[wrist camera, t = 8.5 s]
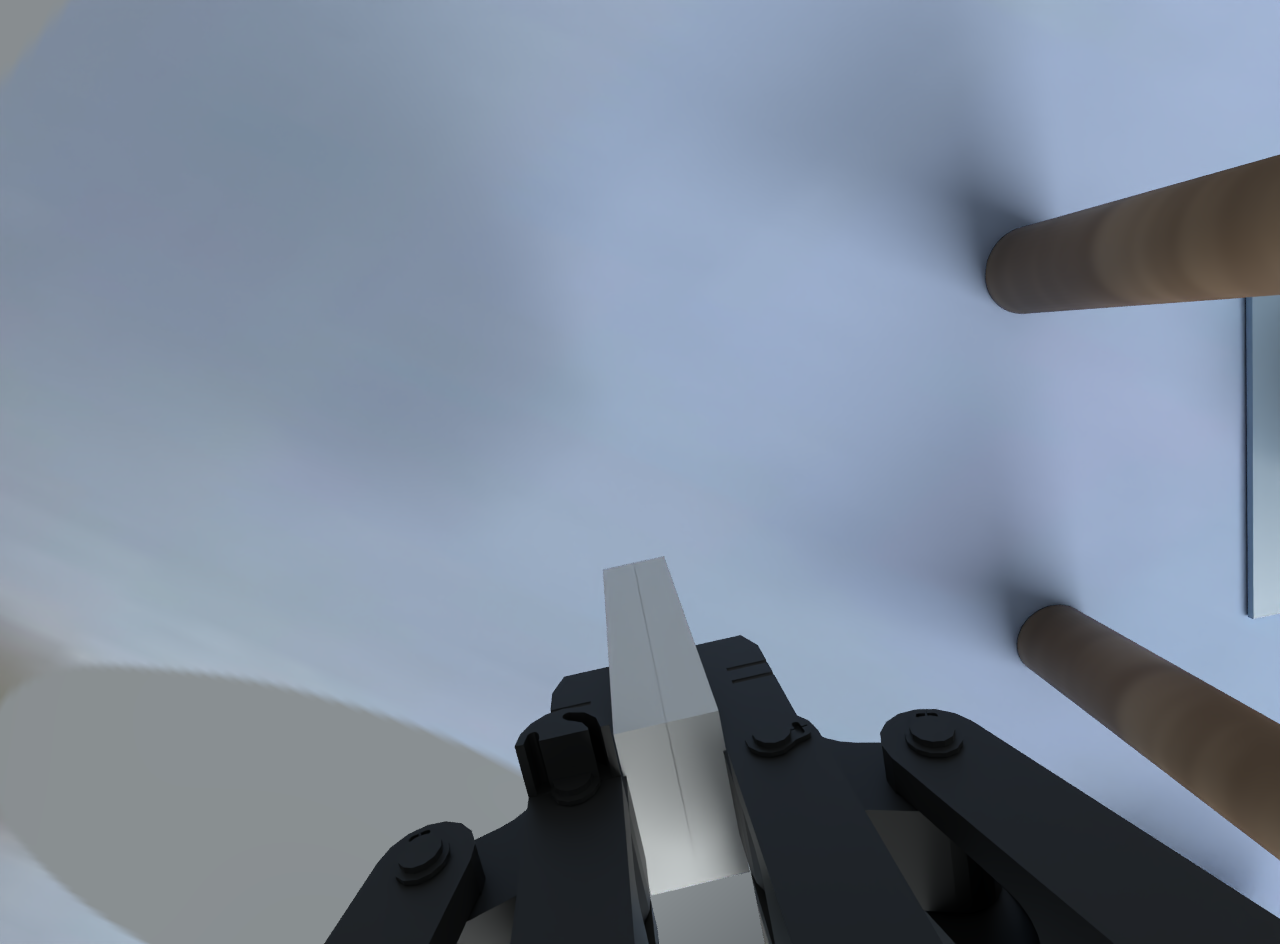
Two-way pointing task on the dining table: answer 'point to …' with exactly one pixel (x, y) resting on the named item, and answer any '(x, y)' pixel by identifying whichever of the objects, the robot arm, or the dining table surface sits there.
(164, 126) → the dining table surface
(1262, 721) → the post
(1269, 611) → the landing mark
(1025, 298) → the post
